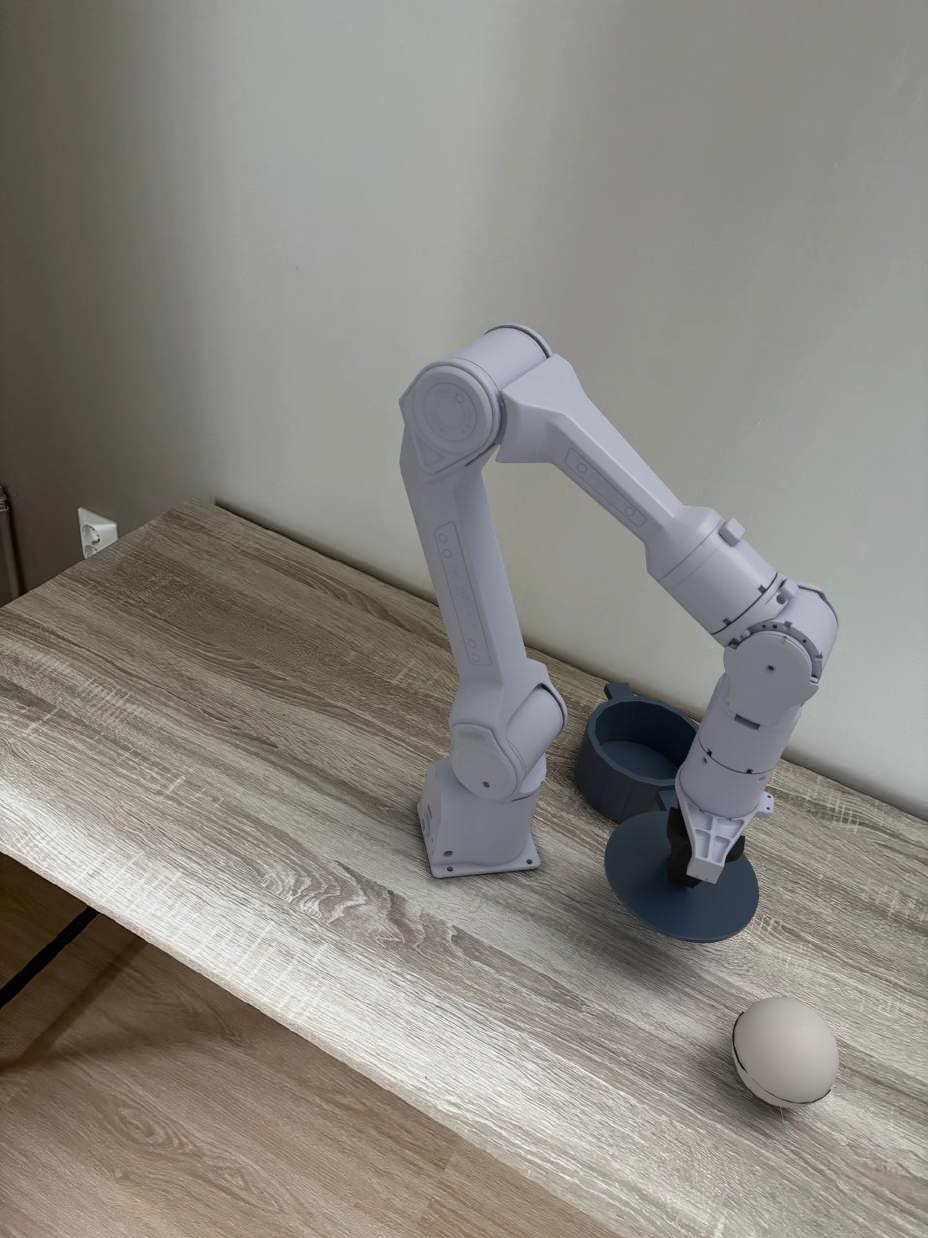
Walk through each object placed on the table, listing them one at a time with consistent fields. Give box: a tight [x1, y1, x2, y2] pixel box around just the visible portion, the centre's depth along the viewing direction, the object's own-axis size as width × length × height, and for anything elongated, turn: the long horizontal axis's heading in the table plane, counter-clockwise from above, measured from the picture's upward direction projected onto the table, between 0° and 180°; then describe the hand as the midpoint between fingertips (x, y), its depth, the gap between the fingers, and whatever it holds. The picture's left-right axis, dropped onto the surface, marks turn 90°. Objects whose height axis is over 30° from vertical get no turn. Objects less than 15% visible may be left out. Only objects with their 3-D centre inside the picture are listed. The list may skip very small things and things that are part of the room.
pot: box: [574, 681, 700, 824], centre depth 92 cm, size 11×17×6 cm
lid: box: [603, 811, 760, 945], centre depth 76 cm, size 12×12×5 cm
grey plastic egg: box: [731, 996, 840, 1139], centre depth 69 cm, size 10×7×7 cm
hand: (683, 866), depth 76 cm, fingers closed on lid, 2 cm apart
